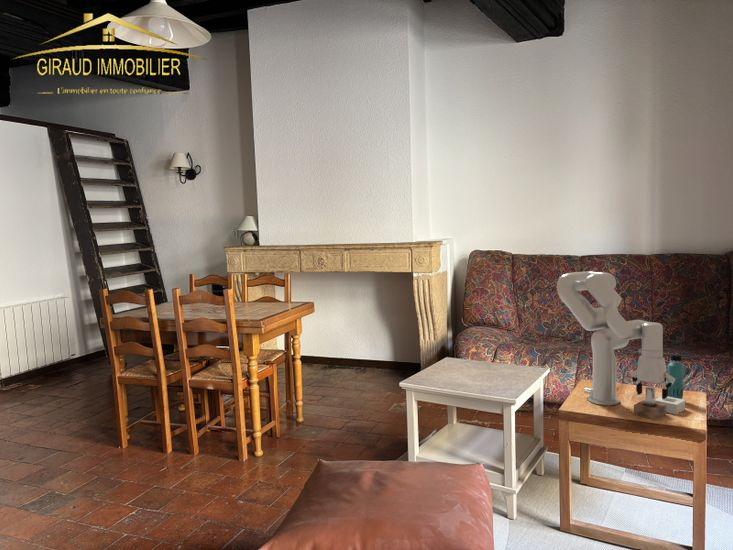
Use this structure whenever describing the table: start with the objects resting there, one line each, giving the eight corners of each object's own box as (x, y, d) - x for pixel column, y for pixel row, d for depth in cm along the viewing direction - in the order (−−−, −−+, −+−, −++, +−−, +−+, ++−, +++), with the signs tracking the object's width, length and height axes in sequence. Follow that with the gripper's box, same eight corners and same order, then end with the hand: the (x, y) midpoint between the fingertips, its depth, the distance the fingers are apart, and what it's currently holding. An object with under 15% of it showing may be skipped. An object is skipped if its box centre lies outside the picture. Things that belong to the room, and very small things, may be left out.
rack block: (653, 409, 252) (653, 400, 251) (662, 404, 258) (662, 395, 258) (676, 414, 245) (676, 404, 245) (684, 409, 251) (685, 399, 251)
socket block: (633, 414, 246) (633, 404, 245) (643, 409, 252) (643, 400, 252) (656, 419, 239) (656, 409, 239) (665, 414, 245) (666, 404, 245)
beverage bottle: (671, 403, 260) (672, 356, 258) (663, 398, 266) (664, 353, 265) (686, 402, 260) (688, 356, 258) (677, 398, 267) (679, 353, 265)
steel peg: (643, 414, 246) (644, 387, 245) (647, 412, 248) (647, 386, 247) (652, 416, 243) (653, 389, 242) (655, 414, 246) (656, 387, 244)
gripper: (626, 352, 247) (626, 394, 248) (671, 358, 234) (670, 402, 235) (634, 349, 252) (634, 390, 253) (678, 355, 239) (678, 398, 240)
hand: (651, 396), depth 244 cm, fingers open, 9 cm apart
